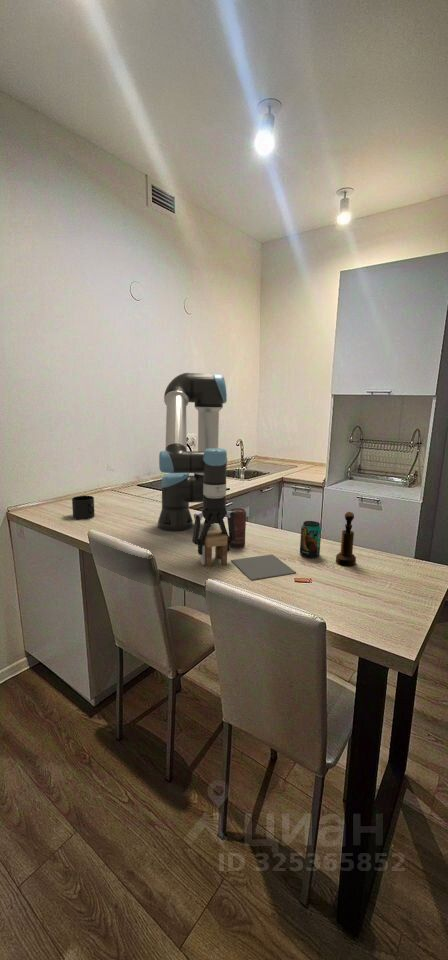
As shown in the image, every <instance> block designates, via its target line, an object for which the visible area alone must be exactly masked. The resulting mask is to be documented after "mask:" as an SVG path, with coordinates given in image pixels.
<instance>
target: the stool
mask: <svg viewBox="0 0 448 960" xmlns="http://www.w3.org/2000/svg"><path fill="white" fill-rule="evenodd" d="M228 536H229V535H228ZM228 536H227V535H225V534H223V533H222V531H221V529H215V530H208V533H207V535H206V536H205V541H204V543H203V544H204V545H205V567H206V568H208V569H209V568H212V566H213V565H212V564H213V547H214V548H215V549H214V551H215V552H214V553H215V555H214V558H215V560H220V565H222V566H227V565H228V551H227V539H228Z"/></svg>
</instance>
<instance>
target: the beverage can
mask: <svg viewBox="0 0 448 960" xmlns="http://www.w3.org/2000/svg"><path fill="white" fill-rule="evenodd" d="M321 539H322V527H321V523H320V522H318V521H315V520H305V521H303V524H302V525H301V527H300V542H299V543H300V544H299V554H300V555H301V556H302V557H303V558H307V559H315V558H318V557H319V556H320V553H321Z"/></svg>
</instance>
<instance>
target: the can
mask: <svg viewBox="0 0 448 960" xmlns="http://www.w3.org/2000/svg"><path fill="white" fill-rule="evenodd" d="M230 511H232V512H234V519H233V521H234V531H235V540H232V541H231V543H230V548H233V549H241V548H244V547H245V545H246V528H247V527H246V526H247V511H246V510H245V509H244V508H243V509H242V508H231V509H230Z"/></svg>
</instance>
